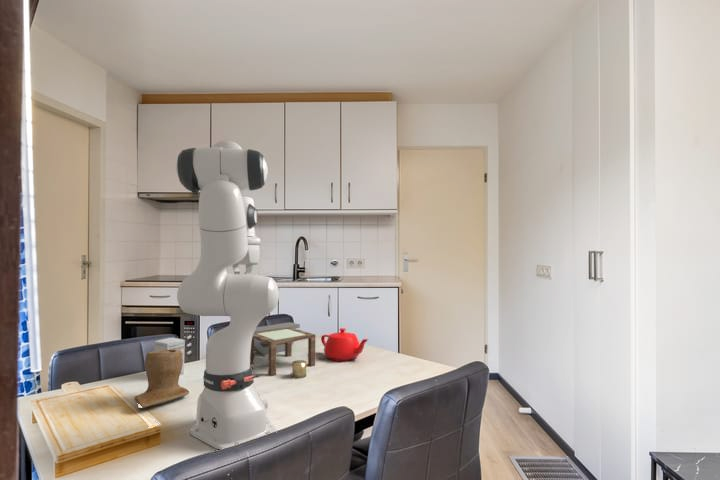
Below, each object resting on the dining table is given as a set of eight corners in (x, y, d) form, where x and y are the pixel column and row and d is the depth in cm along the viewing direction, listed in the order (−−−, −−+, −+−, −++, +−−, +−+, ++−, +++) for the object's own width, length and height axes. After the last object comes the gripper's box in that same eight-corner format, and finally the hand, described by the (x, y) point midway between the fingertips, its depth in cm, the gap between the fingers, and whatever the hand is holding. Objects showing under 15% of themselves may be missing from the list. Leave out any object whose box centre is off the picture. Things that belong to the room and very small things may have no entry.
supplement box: (152, 376, 137) (153, 340, 137) (171, 370, 143) (172, 336, 144) (166, 380, 133) (167, 343, 134) (184, 373, 140) (185, 339, 140)
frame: (315, 365, 151) (315, 334, 151) (271, 375, 138) (271, 342, 138) (289, 355, 166) (289, 327, 166) (246, 363, 153) (247, 333, 153)
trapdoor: (305, 337, 152) (305, 334, 152) (274, 342, 142) (274, 339, 142) (287, 331, 162) (287, 328, 162) (256, 336, 153) (256, 333, 153)
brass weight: (309, 376, 138) (309, 362, 138) (297, 379, 135) (297, 365, 135) (301, 373, 142) (301, 359, 142) (289, 375, 138) (289, 362, 139)
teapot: (309, 357, 163) (309, 328, 163) (332, 349, 176) (333, 322, 176) (357, 367, 148) (357, 336, 149) (378, 358, 161) (378, 329, 161)
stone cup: (175, 389, 125) (176, 342, 125) (194, 397, 117) (195, 348, 118) (123, 403, 113) (125, 352, 113) (141, 414, 106) (142, 359, 106)
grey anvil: (289, 345, 183) (290, 322, 183) (299, 348, 178) (299, 324, 178) (241, 355, 165) (241, 329, 166) (250, 358, 160) (250, 332, 160)
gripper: (223, 240, 150) (223, 275, 150) (246, 238, 135) (245, 278, 134) (239, 240, 154) (238, 275, 154) (262, 239, 139) (262, 277, 138)
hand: (242, 276), depth 144 cm, fingers open, 8 cm apart
